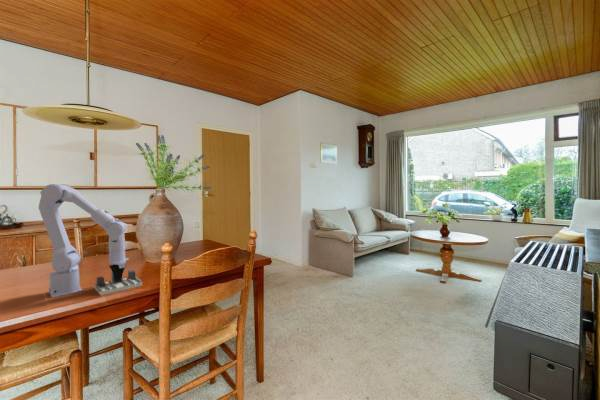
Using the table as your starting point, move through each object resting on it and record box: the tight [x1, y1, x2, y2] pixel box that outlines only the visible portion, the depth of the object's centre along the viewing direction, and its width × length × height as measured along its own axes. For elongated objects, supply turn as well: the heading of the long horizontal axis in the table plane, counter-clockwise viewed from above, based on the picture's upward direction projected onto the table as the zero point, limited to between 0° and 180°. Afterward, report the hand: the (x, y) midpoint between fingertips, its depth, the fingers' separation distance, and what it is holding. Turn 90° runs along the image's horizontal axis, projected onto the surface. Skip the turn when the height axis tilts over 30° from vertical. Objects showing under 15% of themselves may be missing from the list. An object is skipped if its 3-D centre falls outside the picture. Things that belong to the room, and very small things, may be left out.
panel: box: [93, 269, 143, 297], centre depth 118 cm, size 15×12×5 cm
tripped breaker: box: [110, 272, 122, 283], centre depth 120 cm, size 3×3×4 cm
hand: (118, 281), depth 119 cm, fingers closed
